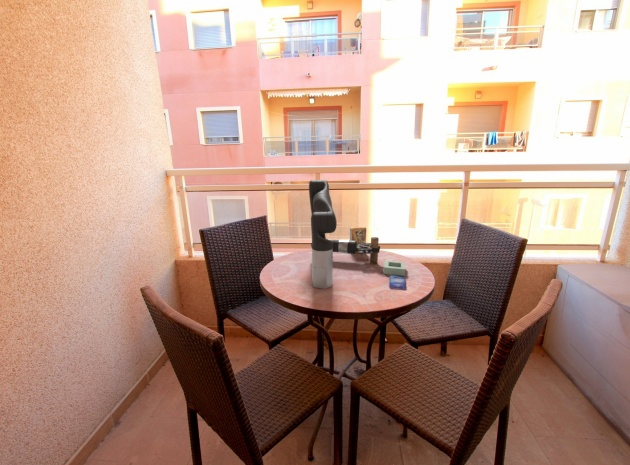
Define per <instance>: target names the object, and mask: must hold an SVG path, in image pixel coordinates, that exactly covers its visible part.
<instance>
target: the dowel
mask: <svg viewBox="0 0 630 465" xmlns="http://www.w3.org/2000/svg"><path fill="white" fill-rule="evenodd" d="M379 241H380V240H379V237H376V236H372V237H370V244H371V248H378V246H379ZM378 262H379V253H375V252H372V253H370V254H369V263H370V265H377V264H378Z"/></svg>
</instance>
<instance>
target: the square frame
mask: <svg viewBox="0 0 630 465" xmlns="http://www.w3.org/2000/svg"><path fill="white" fill-rule="evenodd" d="M391 274H392V275H401V276H405V277H406V262H405V261H397V260H384V264H383V275H389V276H390V275H391Z"/></svg>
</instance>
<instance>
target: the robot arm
mask: <svg viewBox="0 0 630 465" xmlns="http://www.w3.org/2000/svg"><path fill="white" fill-rule="evenodd" d="M308 195H309V204H310V212H311V213H310V214H311V216H310V229H311V243H310V247H311V274H312V275H311V278H312V279H311V281H312V288H314V289H315V288H316V289H324V290H326V289H328V288H330V287H332V286H333V282H334V281H333V279H334V278H333V277H334V276H333V275H334V273H333V272H334V271H333V270H334V269H333V268H334V262H333V261H334V260H333V258H334V256H333V255H334V254H333V253H339V254H346V255H356V254H357V253H356V252H359V253H358V254H359V255H367V254H369V255H370V253H372V252H375V253H378V254H379V253H380V249H381V246H380V245H378V248H371V242H370V243H369V242H366V243H364V242H362V243H361V244H357V241H355V240H350V239H328V238H326V234H332V233H334V232H335V231H337V230H336V229H337V225H338V224H337V217H336V214H335V212H334V209H333V203H332V197H331V195H330V185H329V182H328V180H326V179H311V180H310V181H309V183H308Z"/></svg>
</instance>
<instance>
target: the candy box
mask: <svg viewBox="0 0 630 465" xmlns="http://www.w3.org/2000/svg"><path fill="white" fill-rule="evenodd" d="M349 240H355V241H357V244H361V243H362V242H364V243H367V227H365V226H352V227H351V226H350V227H349ZM356 254H359V252H356Z"/></svg>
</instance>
